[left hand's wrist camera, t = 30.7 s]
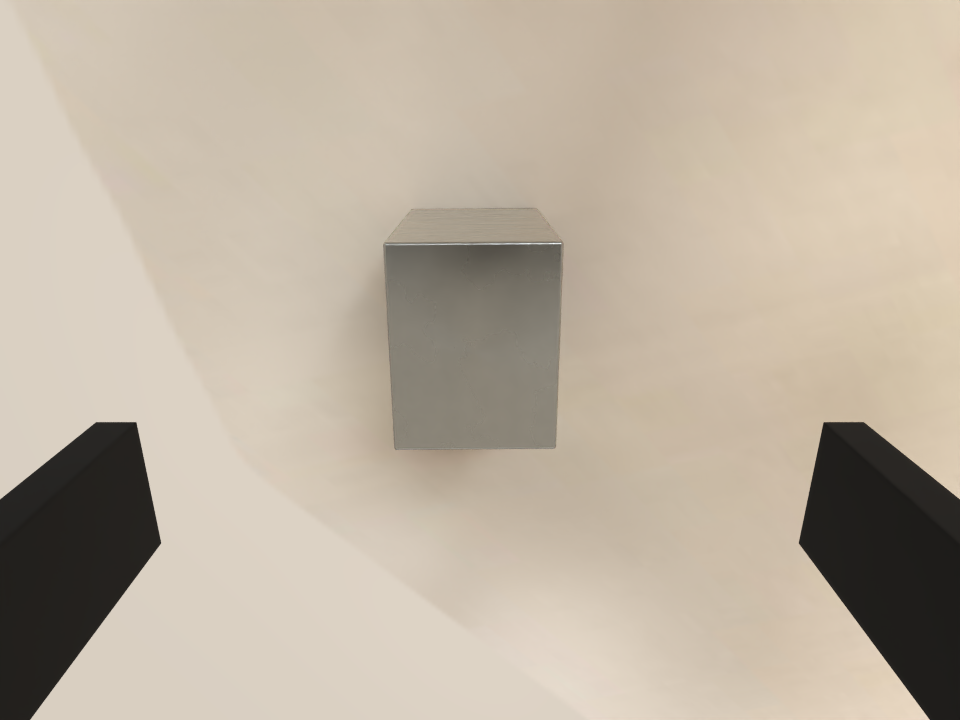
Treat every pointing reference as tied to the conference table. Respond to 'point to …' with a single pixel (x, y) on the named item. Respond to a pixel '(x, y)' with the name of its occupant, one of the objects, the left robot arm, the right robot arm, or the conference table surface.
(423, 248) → the metal block
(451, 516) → the conference table surface
